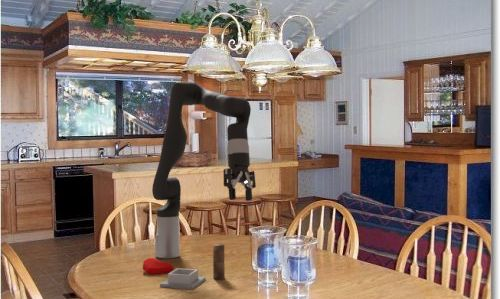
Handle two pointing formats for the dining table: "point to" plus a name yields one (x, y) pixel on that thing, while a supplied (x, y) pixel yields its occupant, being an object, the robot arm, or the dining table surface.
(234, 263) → the dining table surface
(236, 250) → the dining table surface
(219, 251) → the dark brown block
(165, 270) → the heart
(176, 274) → the gray flanged square socket
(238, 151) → the robot arm
